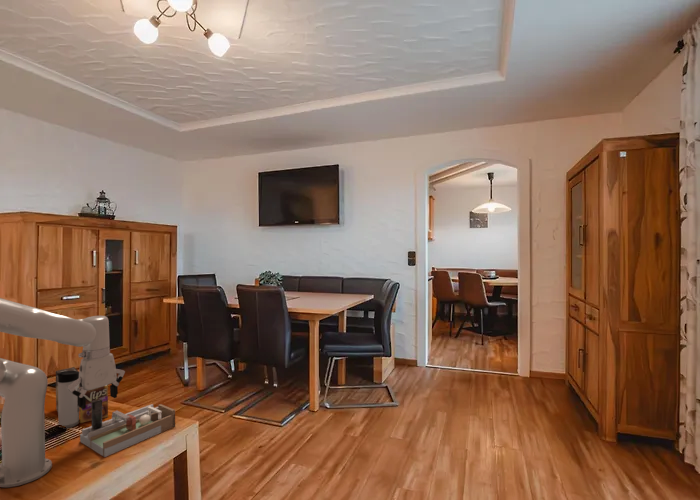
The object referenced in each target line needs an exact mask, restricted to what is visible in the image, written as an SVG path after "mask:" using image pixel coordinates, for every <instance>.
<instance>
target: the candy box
mask: <svg viewBox="0 0 700 500" xmlns="http://www.w3.org/2000/svg"><path fill="white" fill-rule="evenodd" d="M84 396H85V398H86V408H85V409H82V408H80V412H79V423H80V424H83V423H86V422H92V409H91V402H92V401H93V400H96V399H102V419H105V418H108V417H109V385H106V386H102V387H99V388H96V389H93V390H87V392H86V393H85V394H84Z"/></svg>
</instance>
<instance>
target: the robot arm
mask: <svg viewBox="0 0 700 500" xmlns="http://www.w3.org/2000/svg"><path fill="white" fill-rule="evenodd" d="M109 322H110V321H109V318H108V316H105V315H93V316H88V317H85V318H79V319H76V318H73V317H69V316H66V315H62V314H61V315H60V314H58V313H53V312H50V311H47V310H44V309H40V308H37V307H34V306H30V305H27V304H23V303H19V302H15V301H12V300H9V299H5V298H1V297H0V333H4V334H9V335H14V336H19V337H23V338H28V339H29V338H32V339H39V340H44V341H45V340H46V341H51V342H56V343H58V344H60V345H61V344H62V345H67V346H68V345H69V346H73V347H78V348H81V347H82V352H80V353H78V358H81V359H80V365H79V370H78V371H79V378H78V379H77V380H76V381H74V382H73V383H72V384H70V385H69V386H68V387H67V388H68V389H69V391H70V392H71V393H72V394H74V395H76V396H77V397H78V406H79V407H80V408H82V409H85V408H86V398H85V396H84V394H85V393H86V392H87V390H93V389H96V388H99V387H102V386H106V385H108V386H109V385H110V386H109V393H110V397H111V398H113V399H117V397H118V394H119V393H118V390H119V389H118V387H119V385H120V382H121V381H122V380H123V378H124V375H125V373H126V371H125V370H123V369H118V368H116V362H115V358H114V354H113V353H111V351H110V349H111V348H110V326H109V325H110V323H109ZM117 374H118V375H117ZM48 382H49V381H48V377H47V374H46V373H45V371H44V370H42V369H40V368H39V367H36V366H35V365H34V366H33V365H31V364H26V363H21V362H16V361H12V360H9V359H5V358H1V357H0V397H2V398H4V402H3V403H4V404H3V407H2V410H1V417H0V418H1V419H0V423H1V424H0V426H1V463H0V488H14V487H19V486H21V485H26V484H29V483H31V482H33V481H36V480H38V479H40V478H42V477H43V476H44V475H46V474H47V473H48V472H49V471H50V470H51V469H52V467H53V461H52V460H51V459H50V458H47V457H46V439H45V438H46V435H45V434H46V432H45V431H46V430H45V429H46V427H45V425H46V424H45V423H46V422H45V421H46V420H45V419H46V418H45V417H46V416H45V404H46V403H45V402H46V401H45V400H46V395H47V390H48ZM77 385H79V387H80V389H79V390H78V391H76V390H75V387H76V386H77Z"/></svg>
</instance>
